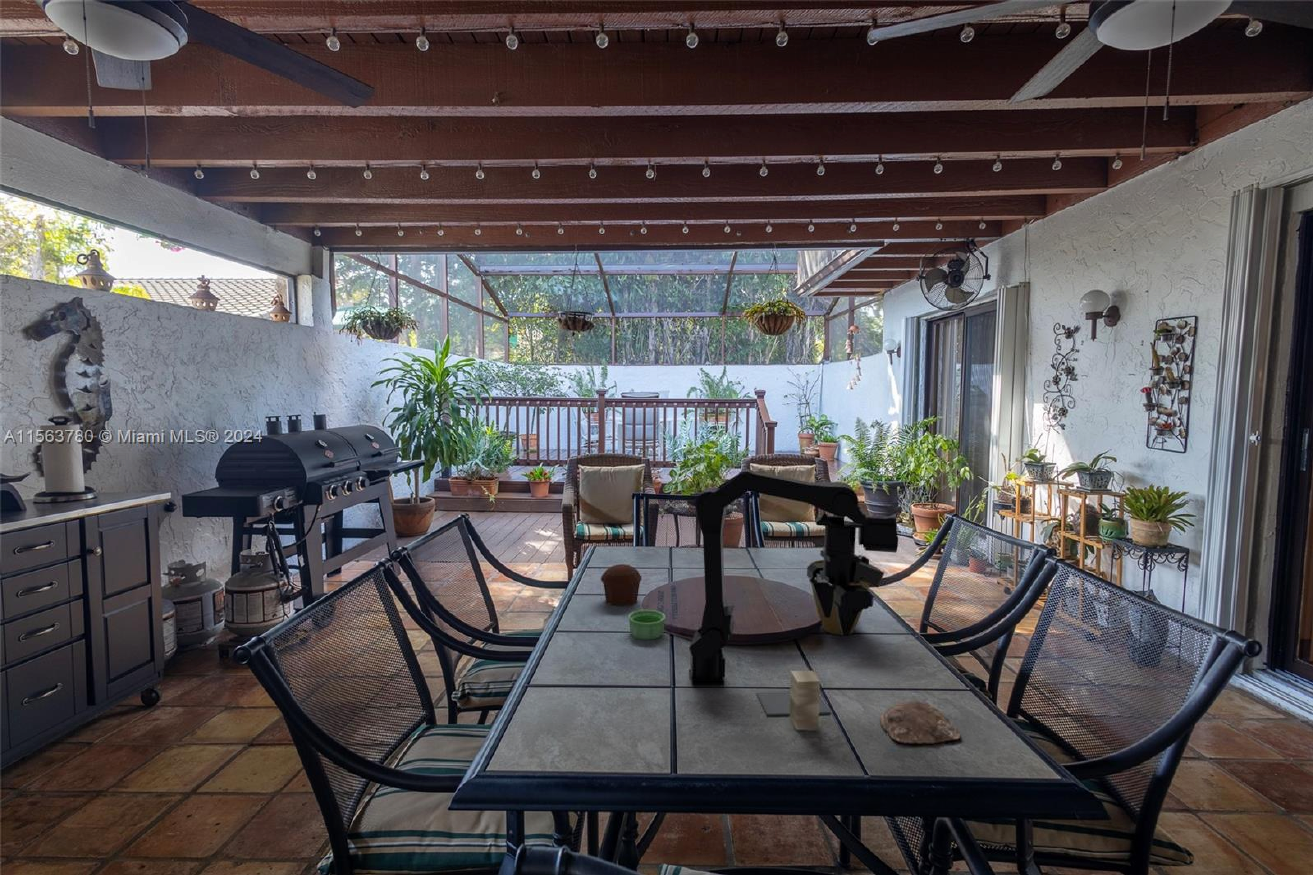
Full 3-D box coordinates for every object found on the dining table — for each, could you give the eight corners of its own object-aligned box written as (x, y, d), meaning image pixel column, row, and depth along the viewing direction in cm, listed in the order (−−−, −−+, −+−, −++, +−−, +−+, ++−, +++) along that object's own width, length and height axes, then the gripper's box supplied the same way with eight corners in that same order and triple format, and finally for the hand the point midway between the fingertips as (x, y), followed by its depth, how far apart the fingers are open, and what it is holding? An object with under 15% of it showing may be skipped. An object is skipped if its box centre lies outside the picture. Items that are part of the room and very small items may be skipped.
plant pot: (881, 632, 151) (884, 569, 150) (842, 646, 143) (844, 579, 142) (833, 613, 164) (835, 555, 162) (794, 625, 155) (796, 564, 154)
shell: (867, 712, 115) (868, 694, 114) (932, 710, 116) (933, 692, 115) (896, 749, 103) (897, 728, 103) (968, 746, 104) (969, 725, 104)
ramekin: (665, 641, 145) (665, 623, 145) (627, 640, 146) (627, 623, 145) (665, 626, 154) (665, 609, 154) (629, 626, 154) (629, 609, 154)
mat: (766, 716, 113) (766, 714, 112) (756, 694, 120) (756, 692, 120) (830, 714, 113) (830, 712, 113) (816, 692, 121) (816, 690, 121)
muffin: (624, 591, 180) (624, 558, 180) (649, 601, 172) (650, 566, 171) (592, 600, 172) (592, 565, 172) (617, 611, 164) (617, 575, 163)
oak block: (796, 730, 108) (797, 681, 107) (789, 718, 112) (790, 671, 111) (818, 730, 108) (819, 681, 107) (811, 717, 112) (812, 670, 111)
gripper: (903, 561, 110) (898, 645, 112) (858, 536, 129) (855, 608, 130) (843, 562, 109) (839, 647, 110) (807, 536, 128) (804, 609, 129)
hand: (836, 626), depth 120 cm, fingers open, 9 cm apart
